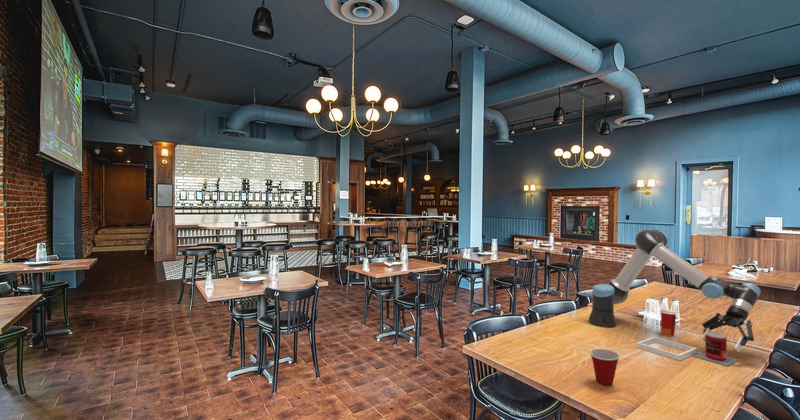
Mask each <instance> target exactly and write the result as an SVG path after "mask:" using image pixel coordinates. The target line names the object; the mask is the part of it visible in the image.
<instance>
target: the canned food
mask: <svg viewBox="0 0 800 420" xmlns="http://www.w3.org/2000/svg"><path fill="white" fill-rule="evenodd" d="M704 346H705V349H704V351H705V354H706V356H707V357H708V358H711V359H714V360H719V361H724V360H726V357H727V336H726V335H725V334H723V333H719V332H714V331H711V332H706V342H705V345H704Z"/></svg>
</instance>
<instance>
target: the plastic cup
mask: <svg viewBox="0 0 800 420" xmlns="http://www.w3.org/2000/svg"><path fill="white" fill-rule="evenodd" d="M589 355H590V356H591V361H592V364H593V365H592V366H593V370H594V375H595V381H596V383H597V384H599V385H603V386H608V387H609V386H610V387H611V386H613V384H614V379H615V377H616V376H615V375H616V371H617V366H618V363H619V359H620V355H621V354H619V353H618V352H616V351H614V350H610V349H607V348H594V349H590V350H589Z"/></svg>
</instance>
